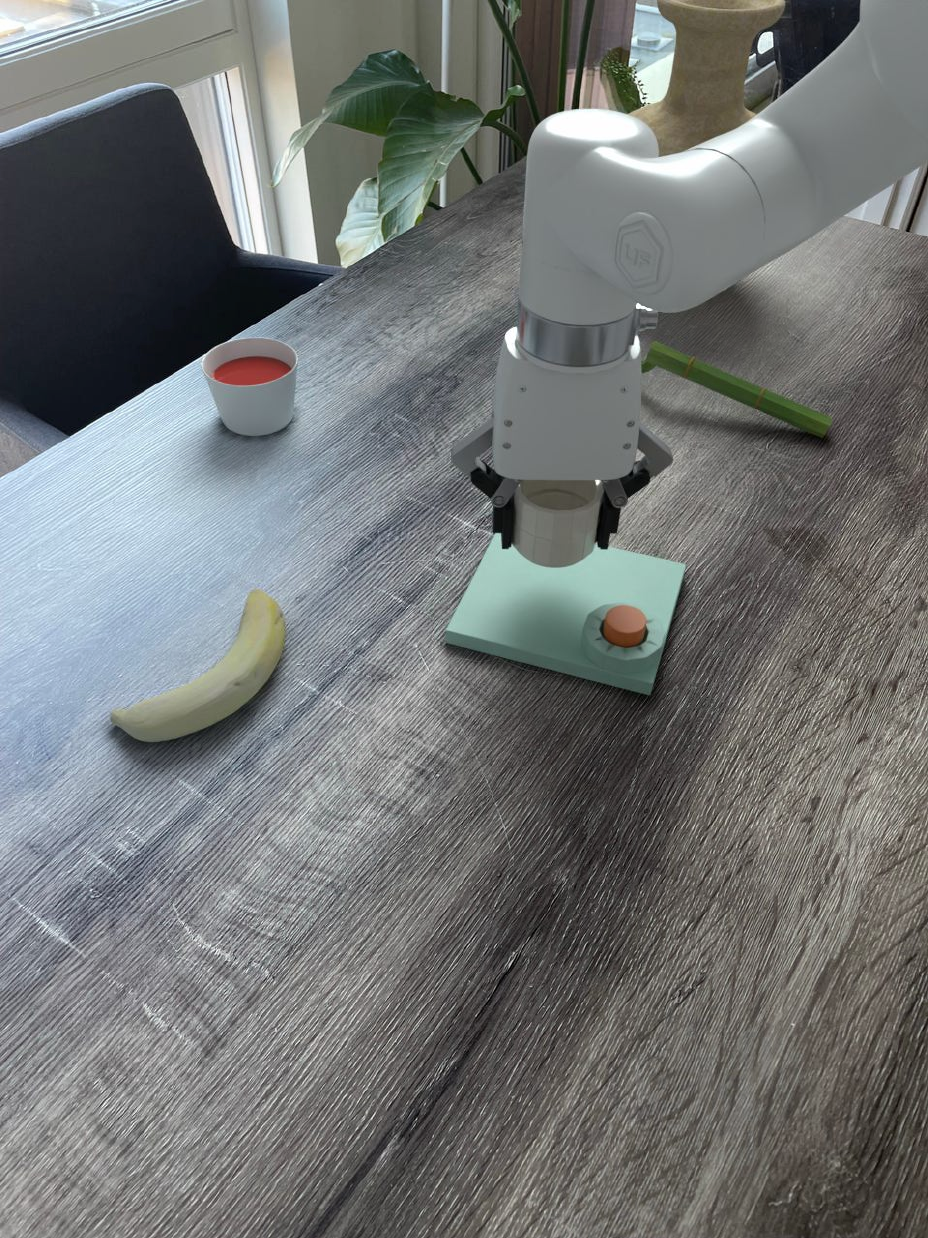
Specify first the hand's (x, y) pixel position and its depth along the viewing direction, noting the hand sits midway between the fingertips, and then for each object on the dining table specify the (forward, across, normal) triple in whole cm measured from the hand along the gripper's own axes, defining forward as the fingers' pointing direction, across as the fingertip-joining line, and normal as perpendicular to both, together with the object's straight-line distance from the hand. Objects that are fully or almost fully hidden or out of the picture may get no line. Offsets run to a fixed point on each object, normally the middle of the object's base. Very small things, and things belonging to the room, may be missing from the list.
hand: (553, 536), depth 77 cm
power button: (+3, -5, +7) cm, 9 cm away
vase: (+6, -20, -58) cm, 61 cm away
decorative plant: (+6, -16, -29) cm, 34 cm away
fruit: (+6, +25, +9) cm, 28 cm away
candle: (+6, +27, -26) cm, 38 cm away
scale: (+6, -2, +2) cm, 7 cm away
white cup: (+1, 0, 0) cm, 1 cm away
